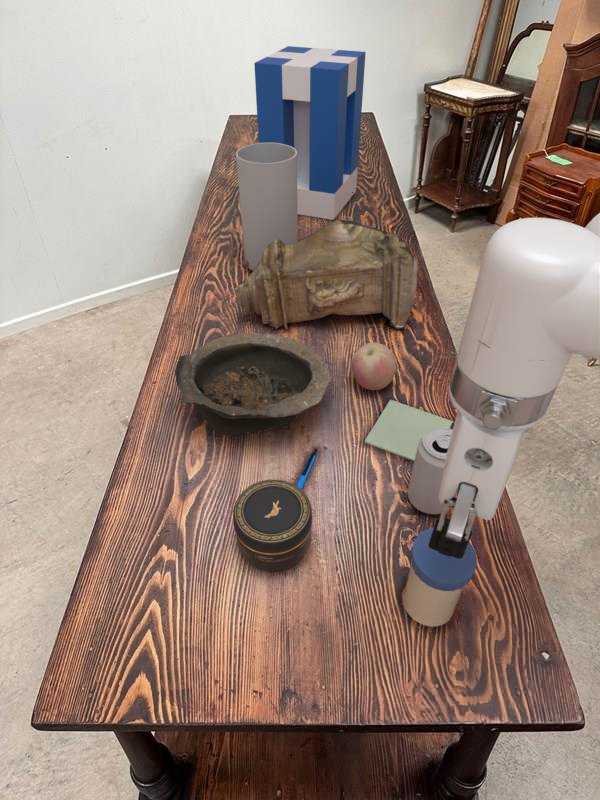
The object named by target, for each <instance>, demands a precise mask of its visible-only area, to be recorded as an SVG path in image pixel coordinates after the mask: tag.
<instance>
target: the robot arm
mask: <svg viewBox="0 0 600 800" xmlns="http://www.w3.org/2000/svg"><path fill="white" fill-rule="evenodd" d="M457 351H458V352H457V354H456V358H455V361H454V365H453V369H452V372H451V376H450V380H449V384H448V396H449V400H450V401H451V404H452V405H453V407H454V408H455V409H456V410H457V412H456V416H455V419H454V422H453V423H454V424H453V426H452V430H453V431H452V434H451V438H450V442H449V447H448V451H447V455H446V460H445V465H444V470H443V475H442V480H441V486H440V491H439V497H438V499H439V501H440V502H441V504H442V505H443V504H444V507H443V510H442V513H441V514H440V516H439V519H438V518H436V519H435V523H434V526H433V528H434V529H433V532H432V535H431V538H430V541H429V545H428V546H429V548H431V549H433V550H436V551H438V552H439V553H441V554H443V555H446V556H449V557H452V556H453V557H455V558H458V559H461V558H462V557H463V555H464V552H465V550H466V548H467V545H468V543H469V542H470V540H471V538H472V535H473V530H472V528H473V526H474V523H475V520H476V517H478V519H482V520H485V521H490V520H492V519H493V518H494V517H495V515H496V512H497V509H498V506H499V505H500V504H499V503H500V501H501V499H502V496H503V493H504V491H505V488H506V485H507V483H508V480H509V478H510V475H511V472H512V470H513V467H514V464H515V462H516V460H517V459H516V458H517V456H518V453H519V450H520V447H521V444H522V441H523V439H524V435H525V432H526V430H528V429H531V428H532V427H535V426H536V425H538V424H539V423H540V422H541V421H542V420H543V419H544V417H545V415H546V413H547V411H548V409H549V406H550V405H551V404H550V403H551V402H552V399H553V397H554V395H555V394H556V391H557V388H558V386H559V384H560V382H561V380H562V378H563V376H564V374H565V372H566V369H567V367H568V364H569V362H570V360H571V358H572V356H573V354H576V355H577V354H578V355H581V356H584V357H588V358H592V359H595V360H598V361H600V212H599V213H598V214H596V215H595V216H594V217H592V219H591V220H590V221H589V222H588V223H587V224H586V226H584V227H583V226H581V225H578V224H576V223H573V222H569V221H566V220H561V219H556V218H550V217H523V218H519V219H515V220H512V221H509V222H507V223H505V224H503V225H502V226H501V227H500V228H498V229H497V230H496V231H494V233H493V234H492V235H491V237H490V238H489V240H488V242H487V244H486V246H485V250H484V253H483V256H482V260H481V263H480V266H479V271H478V275H477V279H476V282H475V287H474V291H473V295H472V297H471V301H470V305H469V310H468V313H467V316H466V321H465V324H464V328H463V332H462V335H461V339H460V342H459V346H458V350H457ZM456 494H457V496H456ZM454 496H456V497H454ZM451 508H453V509H452V513H451V516H450V519H449V518H448V514H449V511H450V509H451Z"/></svg>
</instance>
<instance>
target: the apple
mask: <svg viewBox="0 0 600 800" xmlns="http://www.w3.org/2000/svg"><path fill="white" fill-rule="evenodd" d="M396 372H397V359H396V357H395V355H394V354H393V352H392V350H391V349H390V348H389V347H388V346H386V345H385V344H384V343H381V342H376V341H372V342H370V341H369V342H367V343H365V344H363V345H361V346H360V347H359V348H358V349H357V350H355V352H354V354H353V355H352V359H351V373H352V375H353V378H354V380H355V381H356V383H358V385H360V387H362V388H363V389H366V390H368V391H379V390H383V389H385V388H386V387H387V386H389V384H390V383H391V382H392V381H393V379H394V377H395V375H396Z"/></svg>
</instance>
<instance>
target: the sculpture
mask: <svg viewBox="0 0 600 800" xmlns="http://www.w3.org/2000/svg"><path fill="white" fill-rule="evenodd" d="M241 264H242V266H243V267H244V268H245V269H249V268H248V267H249V262H248V261H247V260H245V259H243V260H242V262H241ZM418 267H419V266H418V262H417V259H416V257H415V256H414V254H413V253H412V251H411V250H410V248H409V247H408V244H407V243H406V242H405V241H404V240H403V239H402V237H401V236H400V234H398V233H395V232H388V231H385V230H381V229H378V228H375V227H372V226H368V225H365V224H362V223H360V222H357V221H354V220H350V219H349V220H347V219H337V220H335V221H333V222H331V223H329V224H326V225H325V226H323V227H321V228H320V229H318V230H316V231H315V232H313V233H311V234H310V235H308V236H307V237H304V238H303V239H300V240H299V241H298V242H297V243H294V244H291V245H286V246H285V243H284V242H282V241H281V240H280V239H276V240H274V241H273V242H272V243H271V244H269V245H268V246H267V247H266V248H265V250H264V252H263V254H262V256H261V260H260V261H259V263H258V265H257V266H256V268H255V269H254V271H252V272H251V273H250V274H249V275H248V277H247V278H245V279H244V280H242V281H241V282H240V283H239V284H238V285H237V286H236V287H235V291H236V296H237V302H238V305H239V307H241V308H243V309H245V310H247V311H248V312H249V313H254V312H255V314H256V315H258V316H261V319H262V320H261V322H262V324H264V325H267V324H268V325H269V326H270V327H271V329H272V330H273V329H274V328H275V329H276V330H278V329H280V328H281V327H282V326H283V328H284V330H286V331H287V330H288V329H289V327H288V324H290V323H291V324H294V323H302V322H305V321H312V320H318V319H323V318H324V317H327V316H330V315H338V316H366V315H372V314H375V315H376V314H383V316H384V317H386V318H387V319H388V320H390V322H389V326H390V327H392V328H394V329H395V330H401V329H403V328H404V327H405V325H406V324H407V322H408V320H409V318H410V315H411V311H412V309H413V304H414V300H415V297H416V291H417V286H418V285H417V283H418V271H419V269H418Z"/></svg>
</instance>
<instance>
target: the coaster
mask: <svg viewBox="0 0 600 800" xmlns="http://www.w3.org/2000/svg"><path fill="white" fill-rule="evenodd" d="M453 423H454V421H453V420H450V419H448V418H446V417H442V416H439V415H436V414H434V413H431V412H427V411H425V410H422V409H419V408H416V407H413V406H410V405H407V404H405V403H403V402H399V401H395V400H393V399H389V401H388V402H387V404H386V405H385V407H384V409H383V410H382V411H381V414H380V415H379V417H378V418H377V420H376V422H375V423H374V425H373V426H372V428H371V429H370V431H369V433H368V434H367V436H366V438H365V440H364V442H363V443H364V444H366V445H370V446H372V447H375V448H377V449H380V450H382V451H385V452H388V453H390V454H393V455H395V456H397V457H401V458H403V459H406V460H409V461H412V462H414V461H415V456H416V452H417V447H418V443H419V440H420V439H421V438H422V437H423V435H424V434H425V432H427V431H428V430H430V429H432V428H436V427H445V428H450V429H451V427H452V425H453Z"/></svg>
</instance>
